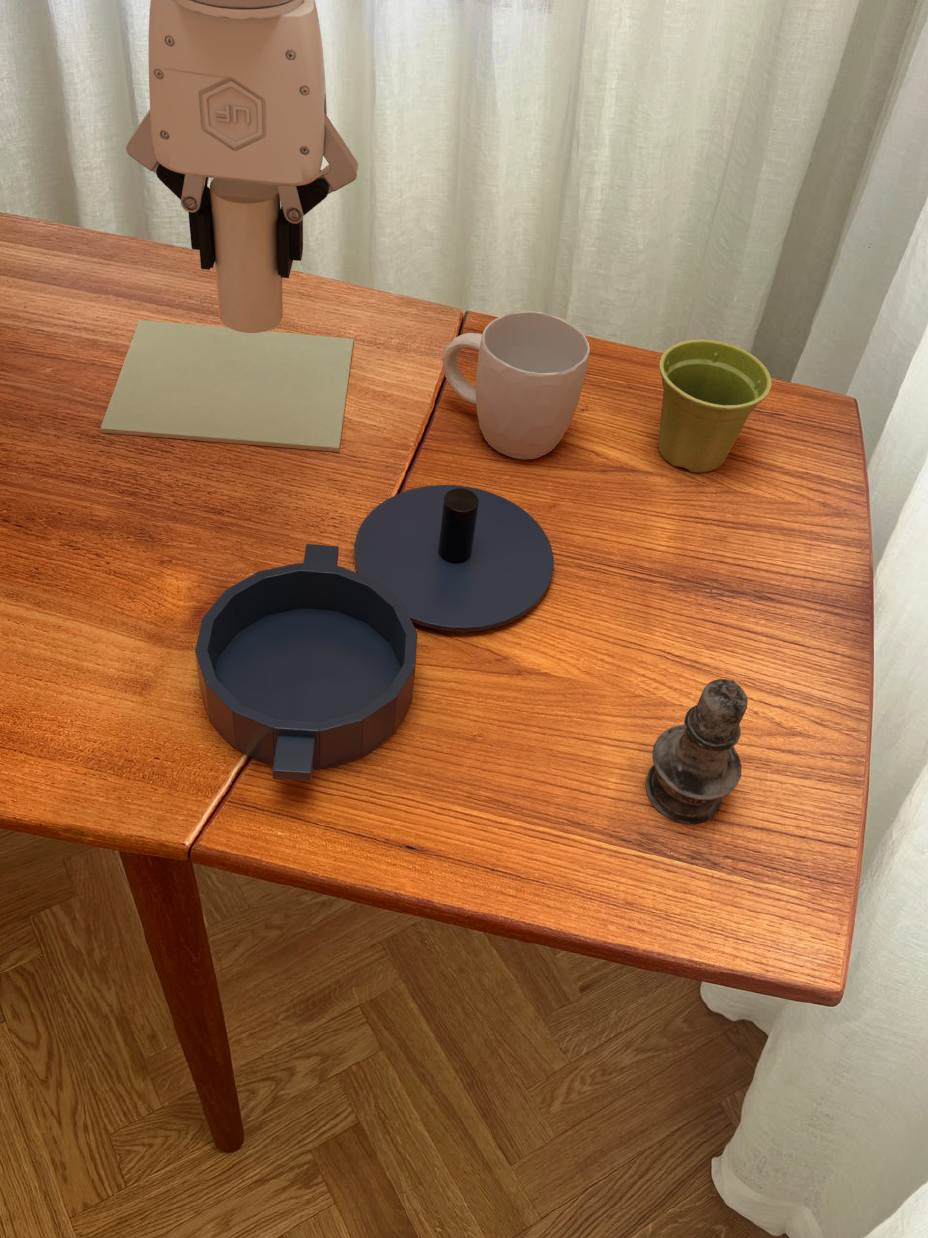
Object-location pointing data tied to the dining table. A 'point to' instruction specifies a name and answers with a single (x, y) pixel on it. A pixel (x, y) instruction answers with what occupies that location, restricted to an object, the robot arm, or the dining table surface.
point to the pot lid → (456, 556)
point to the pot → (307, 665)
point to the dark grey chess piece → (699, 756)
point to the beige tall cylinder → (246, 254)
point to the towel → (232, 386)
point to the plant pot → (707, 401)
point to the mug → (523, 380)
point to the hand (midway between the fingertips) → (248, 260)
